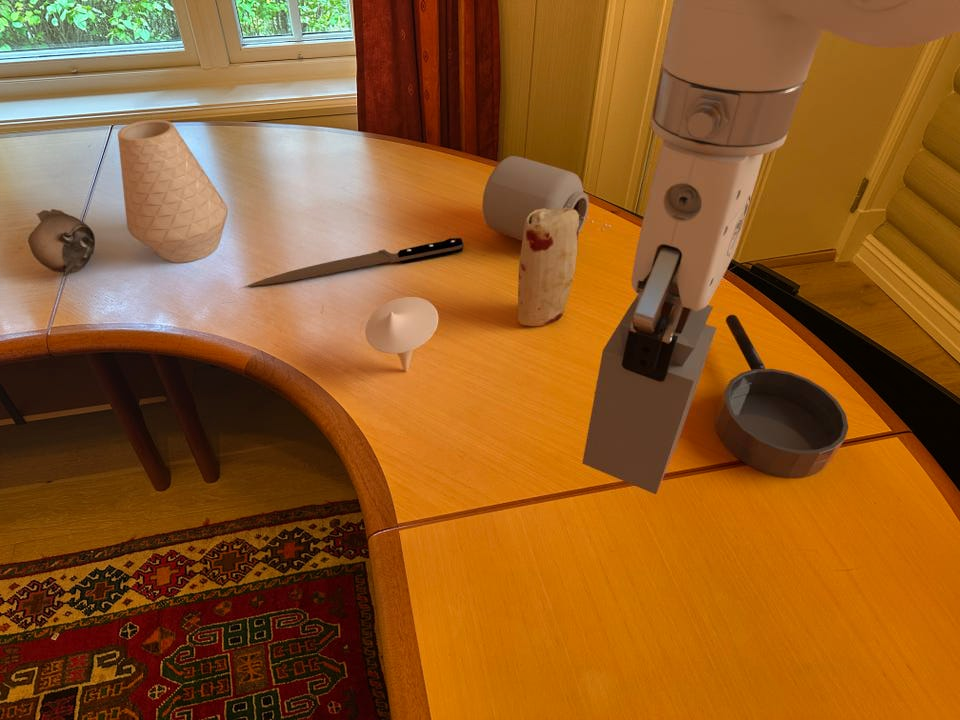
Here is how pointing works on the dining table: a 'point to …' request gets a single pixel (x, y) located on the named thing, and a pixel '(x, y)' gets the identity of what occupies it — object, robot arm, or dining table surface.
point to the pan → (780, 423)
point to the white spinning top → (401, 327)
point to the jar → (529, 194)
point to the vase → (168, 193)
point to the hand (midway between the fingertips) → (660, 342)
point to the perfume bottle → (645, 402)
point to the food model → (547, 265)
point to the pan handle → (744, 343)
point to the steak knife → (370, 261)
